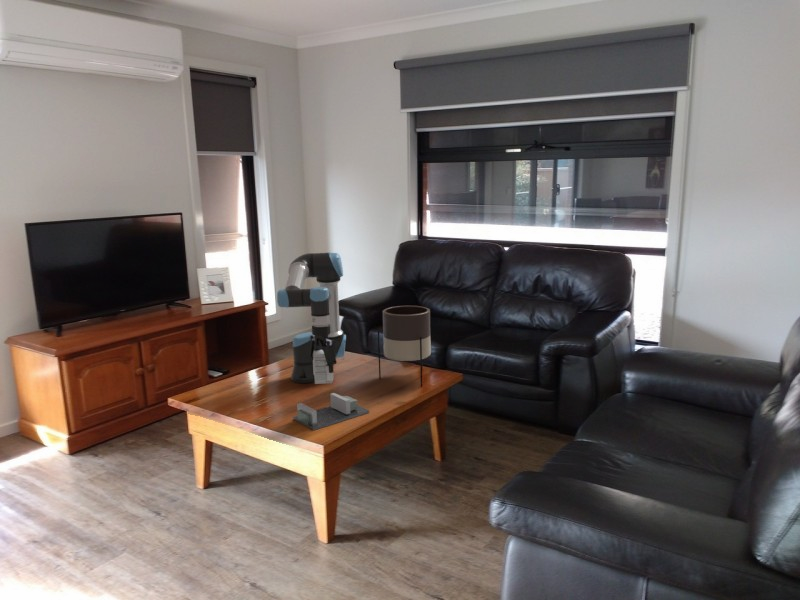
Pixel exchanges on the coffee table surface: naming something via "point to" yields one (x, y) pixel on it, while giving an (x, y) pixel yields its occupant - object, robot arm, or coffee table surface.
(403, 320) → the planter
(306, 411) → the vise
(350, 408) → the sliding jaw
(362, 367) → the coffee table surface
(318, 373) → the supplement box
